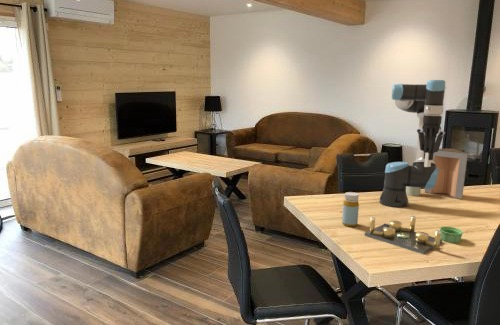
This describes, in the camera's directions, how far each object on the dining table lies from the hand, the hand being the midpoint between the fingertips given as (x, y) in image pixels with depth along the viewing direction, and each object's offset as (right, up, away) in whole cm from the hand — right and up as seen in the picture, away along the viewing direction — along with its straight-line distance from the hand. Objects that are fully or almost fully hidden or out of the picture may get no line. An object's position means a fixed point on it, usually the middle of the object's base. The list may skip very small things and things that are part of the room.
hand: (427, 166), depth 180 cm
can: (+18, -18, +61) cm, 66 cm away
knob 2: (-14, -28, -5) cm, 32 cm away
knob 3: (-9, -31, -20) cm, 38 cm away
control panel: (-16, -31, -11) cm, 37 cm away
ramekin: (+5, -32, -11) cm, 34 cm away
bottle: (-34, -28, +5) cm, 44 cm away
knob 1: (-25, -29, -11) cm, 40 cm away
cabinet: (+38, -18, +60) cm, 73 cm away
